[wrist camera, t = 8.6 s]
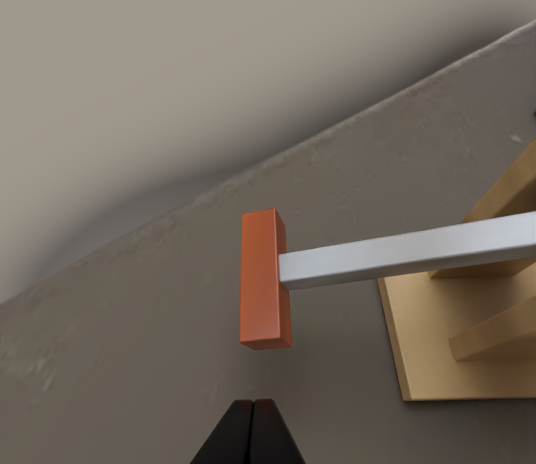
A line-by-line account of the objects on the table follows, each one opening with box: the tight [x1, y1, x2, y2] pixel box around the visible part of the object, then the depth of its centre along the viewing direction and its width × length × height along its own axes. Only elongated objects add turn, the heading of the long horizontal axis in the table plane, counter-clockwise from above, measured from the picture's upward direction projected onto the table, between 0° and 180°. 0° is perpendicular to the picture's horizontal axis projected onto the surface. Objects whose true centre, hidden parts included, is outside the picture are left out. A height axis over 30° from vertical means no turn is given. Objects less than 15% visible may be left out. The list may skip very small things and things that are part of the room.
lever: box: [239, 208, 536, 350], centre depth 10 cm, size 13×5×2 cm, turn 92°
